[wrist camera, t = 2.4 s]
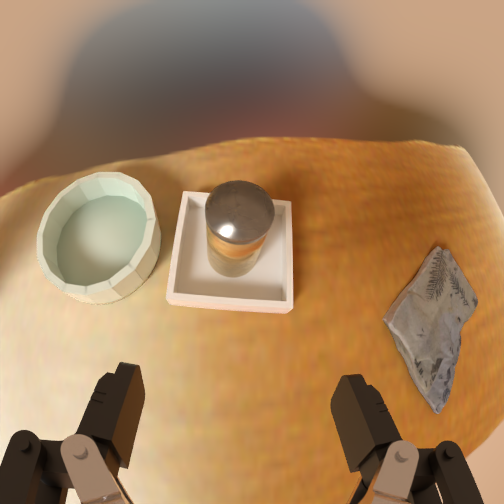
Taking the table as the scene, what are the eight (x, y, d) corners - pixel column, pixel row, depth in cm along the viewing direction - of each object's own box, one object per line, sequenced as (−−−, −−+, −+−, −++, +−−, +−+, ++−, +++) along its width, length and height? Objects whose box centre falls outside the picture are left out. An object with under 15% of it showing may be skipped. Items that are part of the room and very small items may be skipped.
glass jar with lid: (204, 275, 27) (200, 236, 19) (209, 228, 29) (209, 177, 21) (257, 280, 27) (274, 243, 20) (258, 233, 29) (274, 184, 22)
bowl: (42, 294, 24) (23, 283, 20) (73, 191, 29) (61, 172, 25) (150, 312, 25) (140, 303, 22) (171, 195, 30) (166, 173, 27)
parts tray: (170, 304, 26) (165, 298, 23) (185, 204, 30) (183, 191, 28) (286, 313, 27) (293, 308, 25) (285, 213, 31) (291, 201, 29)
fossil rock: (430, 244, 34) (441, 237, 31) (483, 316, 30) (494, 312, 28) (365, 335, 27) (377, 332, 25) (432, 414, 24) (445, 415, 22)
